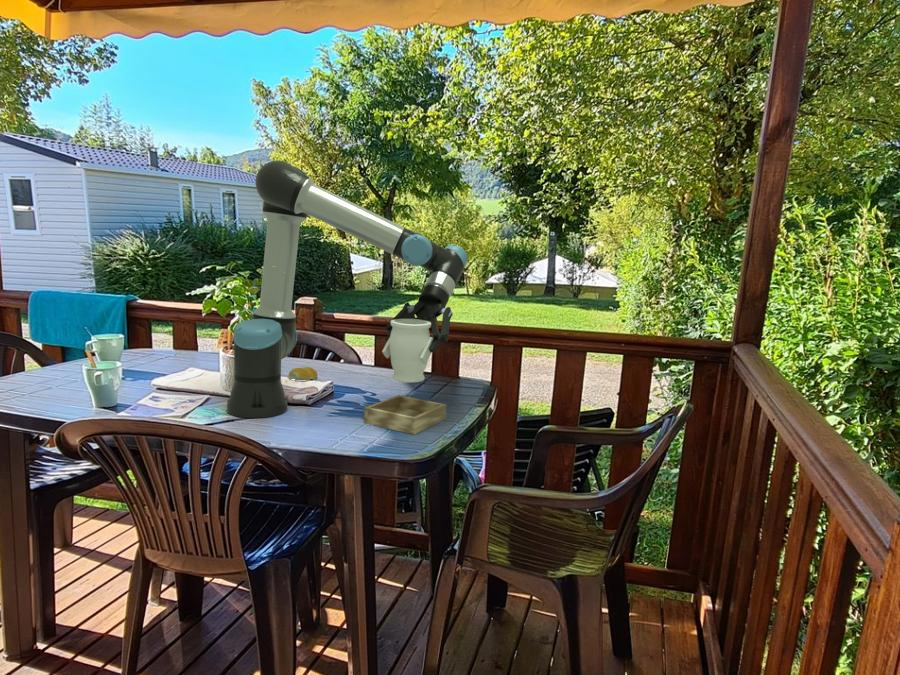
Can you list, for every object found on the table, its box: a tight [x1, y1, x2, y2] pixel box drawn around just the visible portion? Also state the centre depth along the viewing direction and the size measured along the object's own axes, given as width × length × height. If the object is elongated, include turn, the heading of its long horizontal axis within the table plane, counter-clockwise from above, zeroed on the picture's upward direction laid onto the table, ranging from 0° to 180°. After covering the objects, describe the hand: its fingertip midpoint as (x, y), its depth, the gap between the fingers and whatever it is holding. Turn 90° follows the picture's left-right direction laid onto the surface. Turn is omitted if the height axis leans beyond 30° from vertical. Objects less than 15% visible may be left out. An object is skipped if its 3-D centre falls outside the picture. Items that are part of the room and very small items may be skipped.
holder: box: [363, 394, 447, 436], centre depth 151 cm, size 15×16×4 cm
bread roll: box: [288, 366, 318, 381], centre depth 191 cm, size 8×9×4 cm
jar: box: [390, 319, 432, 383], centre depth 148 cm, size 11×10×15 cm
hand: (403, 357), depth 146 cm, fingers closed on jar, 10 cm apart
